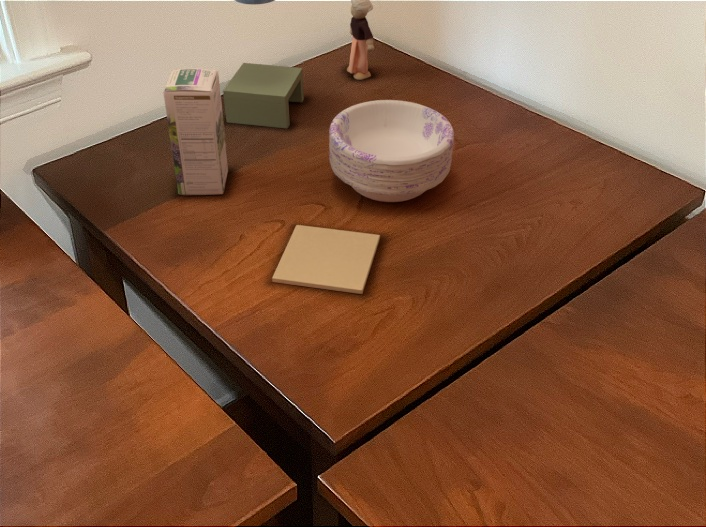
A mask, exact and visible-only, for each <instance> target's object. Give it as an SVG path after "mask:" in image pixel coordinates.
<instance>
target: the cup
mask: <svg viewBox="0 0 706 527" xmlns="http://www.w3.org/2000/svg"><path fill="white" fill-rule="evenodd" d="M234 1H235V2H236V3H239V4H243V5H252V6H253V5H264V4H269V3H272V2H275V1H276V0H234Z"/></svg>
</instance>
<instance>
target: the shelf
mask: <svg viewBox="0 0 706 527" xmlns="http://www.w3.org/2000/svg"><path fill="white" fill-rule="evenodd" d="M303 70H304V68H303V67H296V66H284V65H272V64H261V63H250V62H242V64H241V65H240V66H239V68H238V69H237V71H236V72H235V73H234V75H233V76H232V78H230V80H229V81H228V83H227V85H225V87H224V89H223V90H222V94H223V102H224V110H225V111H224V112H225V119H226V123H229V124H239V125H248V126H249V125H250V126H257V127H267V128H277V129H278V128H279V129H287V130H288V128H289V127H290V125H291V122H290V107H289V106H290V105H289V102H293V103H301V104H302V103H303V101H304V100H305V92H304V73H303V72H304V71H303Z"/></svg>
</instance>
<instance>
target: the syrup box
mask: <svg viewBox="0 0 706 527" xmlns="http://www.w3.org/2000/svg"><path fill="white" fill-rule="evenodd" d="M163 99H164V100H163V101H164V105H165V114H166V120H167V127H168V134H169V141H170V147H171V153H172V161H173V168H174V173H175V174H174V175H175V180H176V187H177V194H178V195H179V196H206V195H207V196H208V195H211V196H212V195H224V193H225V190H226V189H225V188H226V183H227V180H228V179H227V178H228V174H229V161H228V152H227V150H228V149H227V143H226V142H227V140H226V132H225V121H224V112H223V105H222V104H223V103H222V94H221V85H220V76H219V70H217V69H207V68H195V67H194V68H190V67H189V68H178V69H177V68H176V69H171V72H170V74H169V77H168V80H167V82H166V85H165V87H164V91H163Z"/></svg>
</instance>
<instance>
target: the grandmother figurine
mask: <svg viewBox="0 0 706 527" xmlns="http://www.w3.org/2000/svg"><path fill="white" fill-rule="evenodd" d="M350 3H351V6H350V14H351V16H352V17H351V18H350V23H349V34H350V35H351V36H352V40H351V48H350V55H349V63H348V64H349V65H348V66H347V68H346V71H347V73H349V74H353V78H354V79H355V80H358V81H361V80H362V81H363V80H365V79H368V78H371V76H372V74H371V72H370V70H369V62H368V53H369V52H372V51H374V50H375V46H374V35H373V33H372V30H371V28H370V26H369V21H368V19H367V15H368V13H369V12H371V11H373V9H374V5H373V3H372V2H371V0H350Z"/></svg>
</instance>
